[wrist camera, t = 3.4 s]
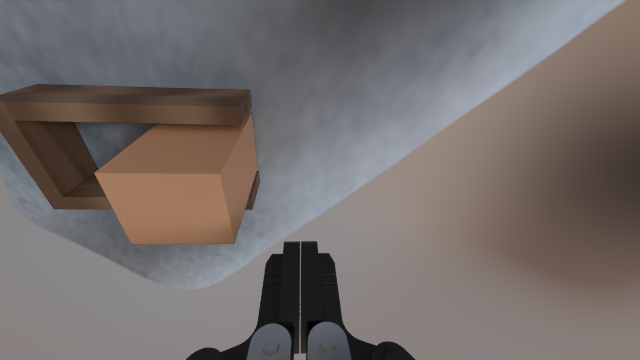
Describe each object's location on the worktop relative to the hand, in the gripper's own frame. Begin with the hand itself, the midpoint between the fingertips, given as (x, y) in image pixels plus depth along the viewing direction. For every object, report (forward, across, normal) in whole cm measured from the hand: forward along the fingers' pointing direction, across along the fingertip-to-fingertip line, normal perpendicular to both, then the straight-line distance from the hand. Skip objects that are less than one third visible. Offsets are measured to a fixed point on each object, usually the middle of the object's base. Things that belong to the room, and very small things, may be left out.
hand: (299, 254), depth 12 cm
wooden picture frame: (+12, +11, 0) cm, 16 cm away
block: (+12, +7, 0) cm, 14 cm away
